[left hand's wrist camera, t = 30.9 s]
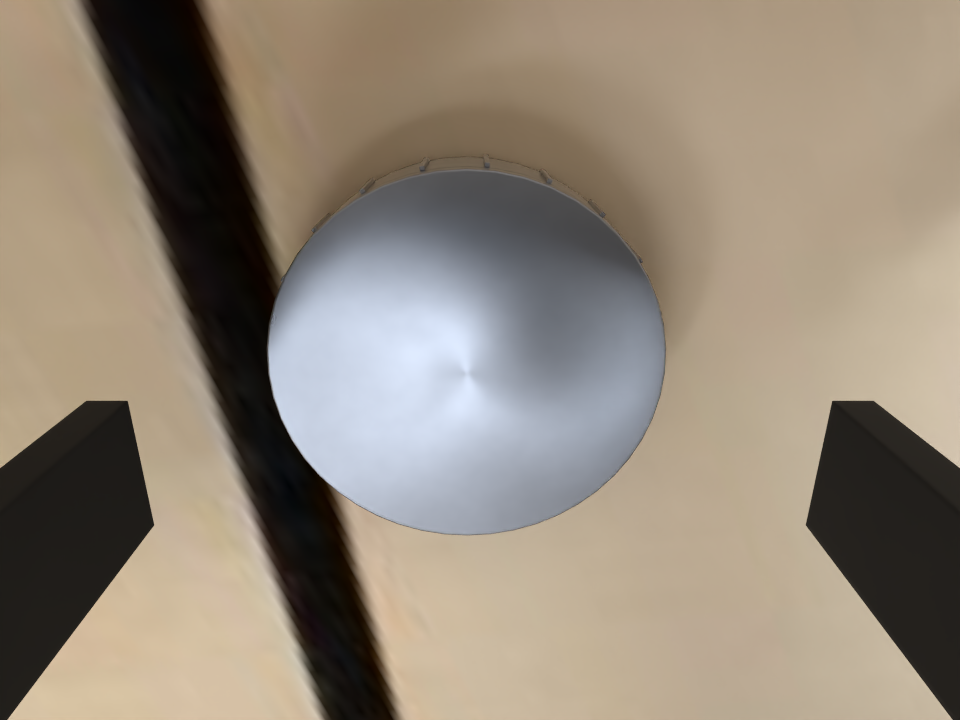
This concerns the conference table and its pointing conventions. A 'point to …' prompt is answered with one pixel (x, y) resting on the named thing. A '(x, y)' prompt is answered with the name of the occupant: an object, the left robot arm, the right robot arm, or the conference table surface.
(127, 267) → the conference table surface
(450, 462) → the lid
